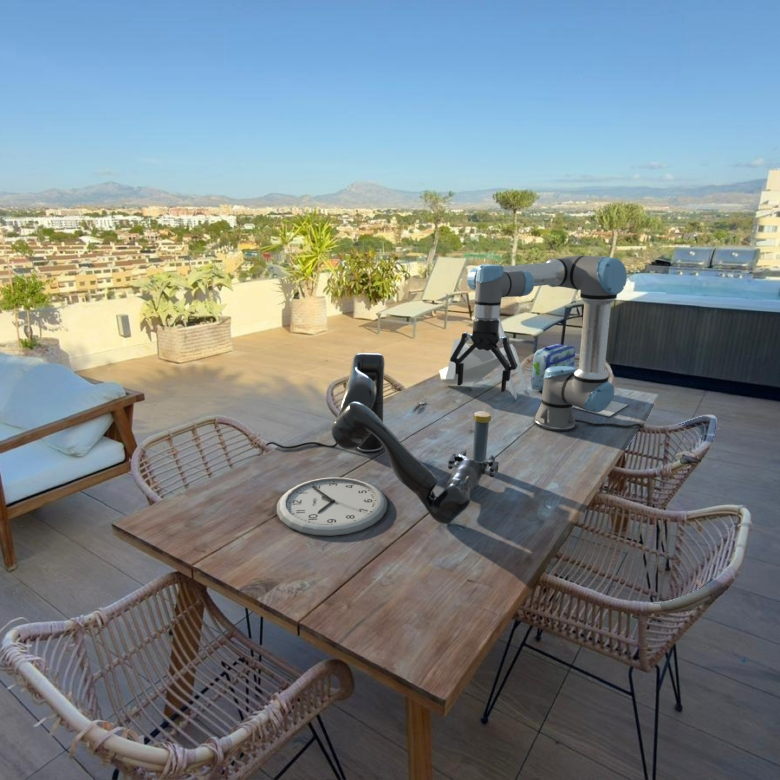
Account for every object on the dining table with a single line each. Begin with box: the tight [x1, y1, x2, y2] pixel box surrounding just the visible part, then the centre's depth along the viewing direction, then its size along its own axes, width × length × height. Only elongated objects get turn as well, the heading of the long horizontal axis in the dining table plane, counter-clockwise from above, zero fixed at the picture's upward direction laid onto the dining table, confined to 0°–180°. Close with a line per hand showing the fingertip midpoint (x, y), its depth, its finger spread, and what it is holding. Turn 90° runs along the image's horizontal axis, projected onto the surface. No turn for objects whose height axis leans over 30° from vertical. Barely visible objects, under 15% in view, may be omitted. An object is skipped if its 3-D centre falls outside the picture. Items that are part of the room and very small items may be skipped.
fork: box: [413, 396, 428, 412], centre depth 222 cm, size 3×16×2 cm, turn 160°
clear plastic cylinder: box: [471, 420, 490, 465], centre depth 164 cm, size 4×4×18 cm
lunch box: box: [530, 343, 576, 392], centre depth 248 cm, size 26×11×21 cm, turn 134°
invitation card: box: [573, 400, 629, 418], centre depth 226 cm, size 21×1×15 cm
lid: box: [473, 410, 492, 423], centre depth 161 cm, size 5×5×2 cm
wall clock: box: [276, 476, 388, 537], centre depth 142 cm, size 30×2×30 cm
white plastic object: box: [438, 317, 531, 400], centre depth 245 cm, size 37×45×31 cm
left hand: (478, 455), depth 162 cm, fingers open, 8 cm apart
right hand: (481, 387), depth 160 cm, fingers open, 13 cm apart
